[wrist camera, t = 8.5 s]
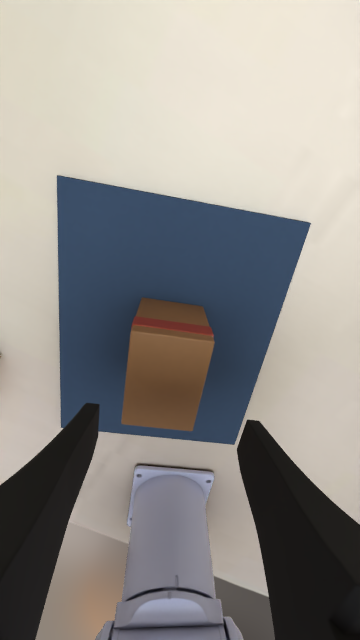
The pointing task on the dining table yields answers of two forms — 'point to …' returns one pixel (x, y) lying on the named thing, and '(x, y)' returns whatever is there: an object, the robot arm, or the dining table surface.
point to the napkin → (166, 294)
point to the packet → (166, 365)
